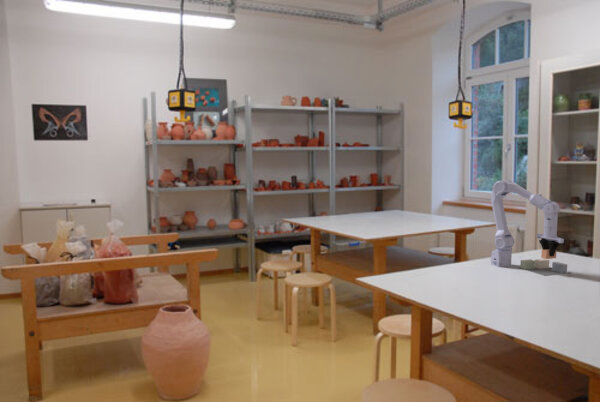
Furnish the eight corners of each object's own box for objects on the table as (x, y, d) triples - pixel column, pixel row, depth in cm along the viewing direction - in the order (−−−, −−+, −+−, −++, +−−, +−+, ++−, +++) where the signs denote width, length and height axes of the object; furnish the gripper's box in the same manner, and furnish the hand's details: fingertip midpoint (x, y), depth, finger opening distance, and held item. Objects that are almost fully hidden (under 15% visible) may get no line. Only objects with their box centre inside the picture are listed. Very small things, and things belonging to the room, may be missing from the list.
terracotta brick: (546, 259, 235) (546, 250, 235) (541, 257, 238) (541, 249, 238) (556, 258, 237) (556, 249, 237) (551, 256, 240) (551, 248, 240)
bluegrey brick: (566, 272, 238) (567, 264, 238) (562, 273, 237) (562, 264, 237) (556, 269, 244) (557, 261, 243) (552, 270, 243) (552, 262, 242)
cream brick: (539, 268, 246) (539, 260, 246) (534, 267, 249) (535, 259, 248) (548, 267, 248) (549, 259, 247) (544, 266, 251) (544, 258, 250)
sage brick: (524, 269, 244) (525, 261, 244) (520, 268, 247) (520, 260, 247) (534, 268, 246) (534, 260, 246) (530, 267, 249) (530, 259, 249)
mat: (545, 277, 232) (545, 275, 232) (518, 268, 248) (518, 267, 248) (570, 274, 236) (570, 273, 236) (542, 266, 252) (542, 265, 252)
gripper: (569, 229, 231) (567, 257, 232) (545, 224, 244) (543, 251, 246) (557, 230, 228) (555, 258, 230) (533, 225, 242) (532, 252, 243)
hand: (548, 255), depth 237 cm, fingers closed on terracotta brick, 3 cm apart
